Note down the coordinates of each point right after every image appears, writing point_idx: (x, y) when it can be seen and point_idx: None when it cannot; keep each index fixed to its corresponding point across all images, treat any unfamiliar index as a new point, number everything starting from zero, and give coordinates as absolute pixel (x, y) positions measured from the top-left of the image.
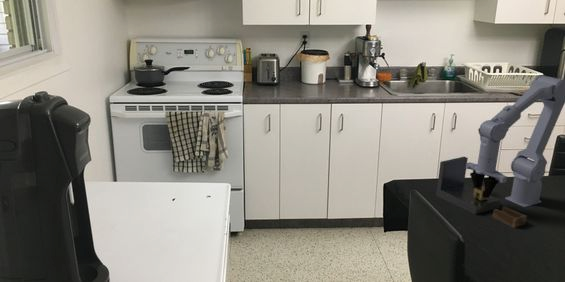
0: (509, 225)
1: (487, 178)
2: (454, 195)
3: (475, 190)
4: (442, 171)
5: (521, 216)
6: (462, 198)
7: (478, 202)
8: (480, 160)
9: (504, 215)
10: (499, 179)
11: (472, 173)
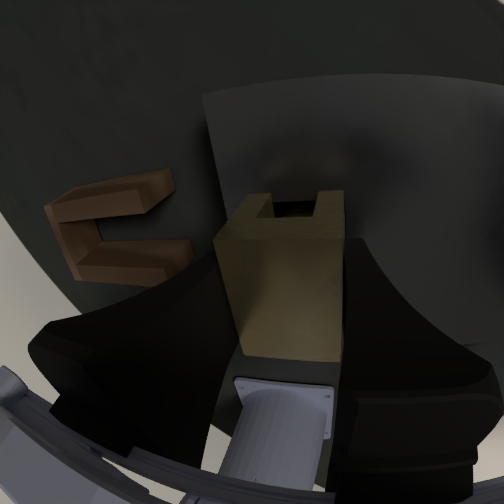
0: (87, 184)
1: (102, 404)
2: (475, 95)
3: (322, 225)
4: None
5: (69, 257)
6: (397, 105)
7: (268, 174)
8: None
9: (84, 196)
10: (29, 407)
11: (461, 431)
